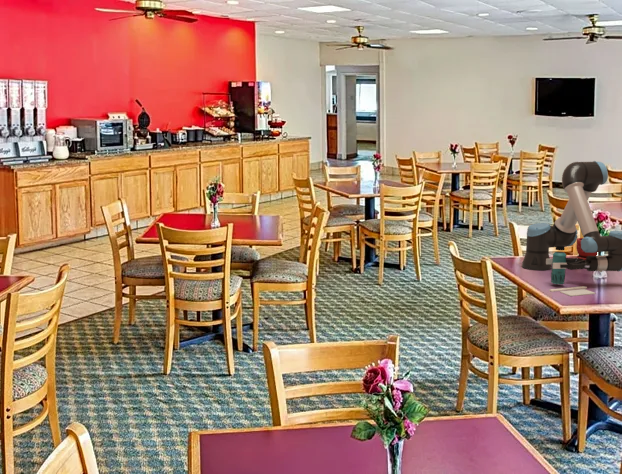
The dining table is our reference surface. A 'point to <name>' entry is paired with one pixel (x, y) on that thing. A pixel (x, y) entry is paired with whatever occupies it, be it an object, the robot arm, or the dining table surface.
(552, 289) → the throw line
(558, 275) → the beverage bottle
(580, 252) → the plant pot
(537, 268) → the robot arm
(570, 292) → the mat
